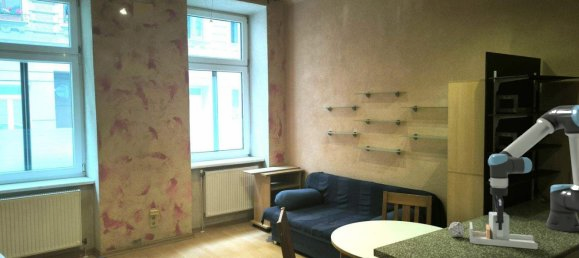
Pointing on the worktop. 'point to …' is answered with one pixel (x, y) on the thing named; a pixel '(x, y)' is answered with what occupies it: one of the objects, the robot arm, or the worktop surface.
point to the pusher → (487, 231)
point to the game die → (456, 229)
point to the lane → (514, 240)
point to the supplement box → (494, 226)
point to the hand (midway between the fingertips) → (499, 233)
